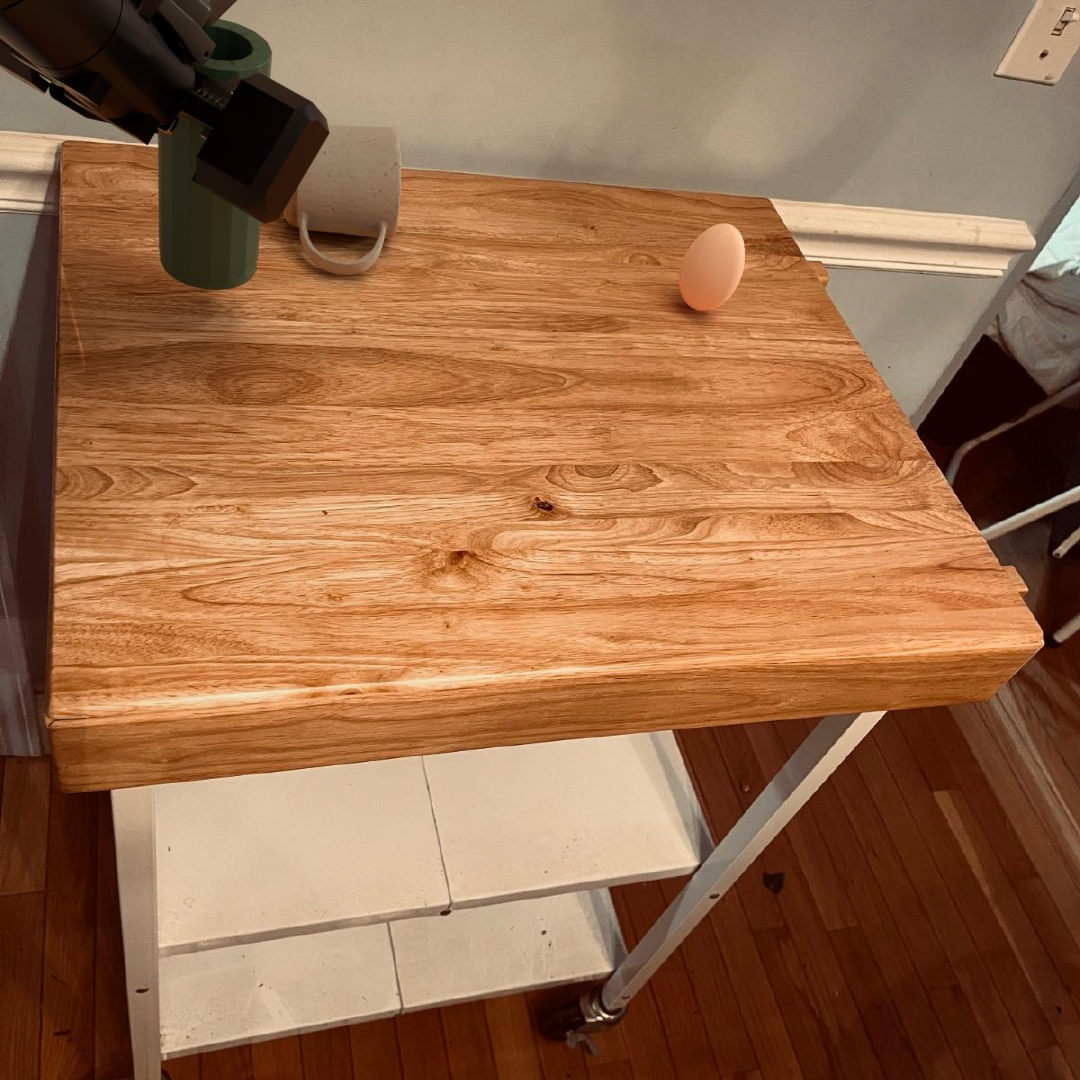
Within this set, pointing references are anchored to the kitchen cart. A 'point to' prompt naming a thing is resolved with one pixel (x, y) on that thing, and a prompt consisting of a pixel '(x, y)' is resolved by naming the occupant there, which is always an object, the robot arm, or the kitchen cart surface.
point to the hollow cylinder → (193, 211)
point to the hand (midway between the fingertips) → (228, 154)
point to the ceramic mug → (350, 192)
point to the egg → (712, 267)
